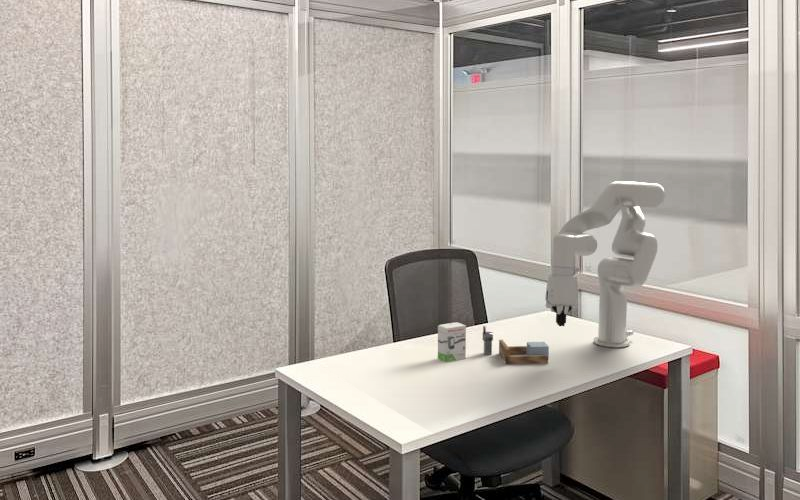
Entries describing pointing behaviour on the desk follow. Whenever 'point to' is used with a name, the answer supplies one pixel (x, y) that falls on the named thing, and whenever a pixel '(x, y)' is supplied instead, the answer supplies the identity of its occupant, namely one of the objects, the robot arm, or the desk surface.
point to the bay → (528, 359)
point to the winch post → (487, 341)
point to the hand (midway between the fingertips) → (560, 325)
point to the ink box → (451, 342)
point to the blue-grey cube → (537, 348)
